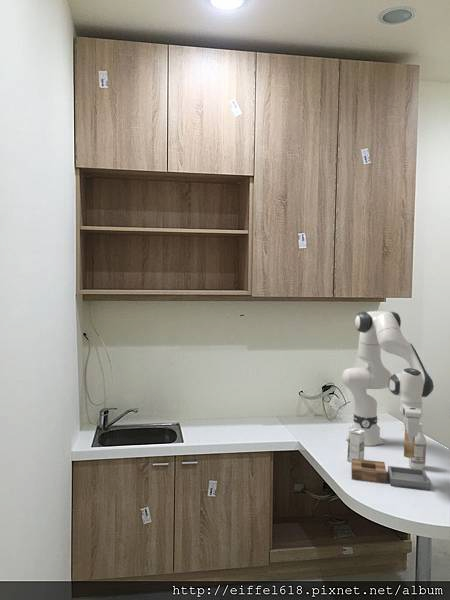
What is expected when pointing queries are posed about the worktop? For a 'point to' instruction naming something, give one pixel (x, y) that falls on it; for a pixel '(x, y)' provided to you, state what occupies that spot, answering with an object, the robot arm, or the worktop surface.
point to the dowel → (408, 446)
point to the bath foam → (419, 451)
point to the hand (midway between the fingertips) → (409, 440)
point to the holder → (368, 470)
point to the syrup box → (356, 444)
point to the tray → (408, 478)
